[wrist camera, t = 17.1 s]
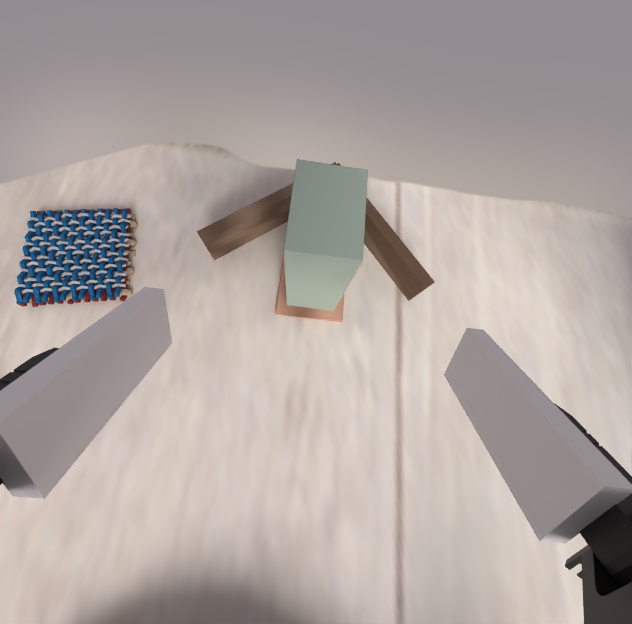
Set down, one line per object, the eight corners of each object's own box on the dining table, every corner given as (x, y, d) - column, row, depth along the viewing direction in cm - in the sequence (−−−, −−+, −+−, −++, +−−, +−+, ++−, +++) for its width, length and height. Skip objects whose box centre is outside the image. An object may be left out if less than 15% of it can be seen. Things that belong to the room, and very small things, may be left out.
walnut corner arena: (332, 187, 33) (337, 161, 29) (416, 295, 30) (434, 282, 27) (209, 251, 30) (196, 231, 26) (292, 381, 27) (292, 380, 23)
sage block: (338, 251, 30) (368, 170, 19) (333, 310, 29) (362, 260, 17) (294, 245, 30) (297, 159, 19) (286, 305, 28) (283, 249, 17)
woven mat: (142, 213, 31) (131, 202, 29) (135, 302, 28) (124, 296, 26) (40, 217, 29) (23, 205, 28) (24, 310, 27) (3, 304, 25)
